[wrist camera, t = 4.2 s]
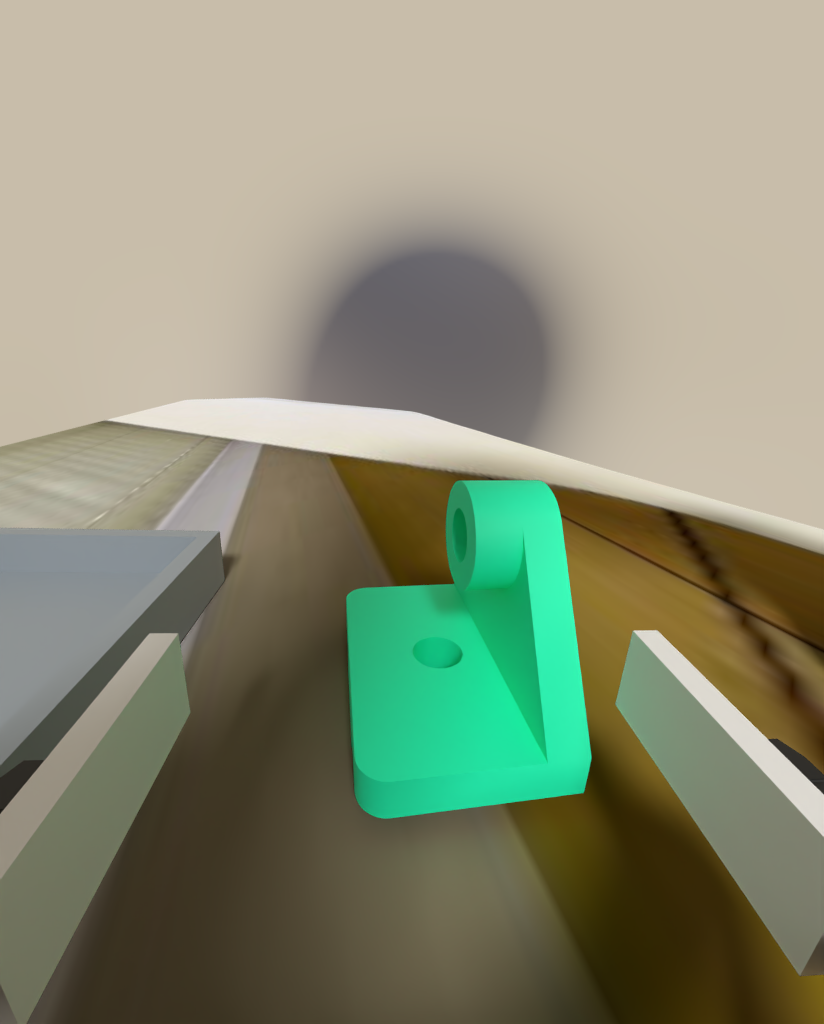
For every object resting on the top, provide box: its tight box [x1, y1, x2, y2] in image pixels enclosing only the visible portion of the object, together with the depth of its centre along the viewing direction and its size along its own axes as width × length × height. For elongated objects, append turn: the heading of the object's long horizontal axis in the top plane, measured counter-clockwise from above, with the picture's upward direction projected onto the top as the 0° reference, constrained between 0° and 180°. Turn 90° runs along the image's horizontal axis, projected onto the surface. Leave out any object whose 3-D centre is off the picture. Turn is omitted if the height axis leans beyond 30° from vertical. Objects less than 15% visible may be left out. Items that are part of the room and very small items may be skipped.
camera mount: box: [346, 480, 592, 818], centre depth 19 cm, size 12×8×10 cm, turn 9°
